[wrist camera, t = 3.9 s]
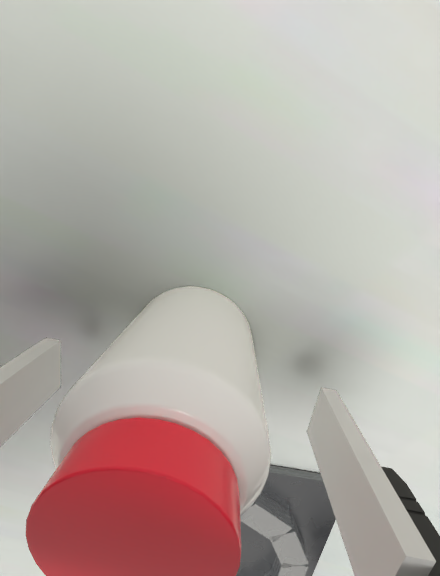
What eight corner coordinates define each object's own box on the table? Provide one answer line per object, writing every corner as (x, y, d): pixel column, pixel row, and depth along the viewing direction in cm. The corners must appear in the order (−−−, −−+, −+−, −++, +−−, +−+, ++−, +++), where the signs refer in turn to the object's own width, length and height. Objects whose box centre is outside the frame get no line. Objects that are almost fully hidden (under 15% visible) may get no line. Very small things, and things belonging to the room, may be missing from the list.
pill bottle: (169, 407, 19) (88, 663, 8) (112, 315, 17) (-88, 489, 6) (270, 369, 17) (331, 609, 7) (221, 265, 16) (201, 376, 5)
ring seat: (110, 437, 20) (98, 459, 18) (346, 477, 20) (357, 503, 18) (101, 587, 25) (91, 615, 23) (288, 618, 25) (292, 648, 23)
